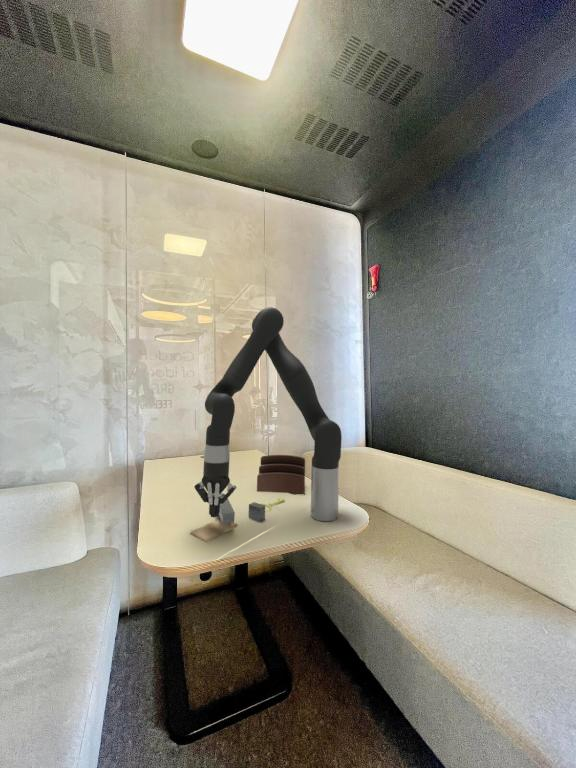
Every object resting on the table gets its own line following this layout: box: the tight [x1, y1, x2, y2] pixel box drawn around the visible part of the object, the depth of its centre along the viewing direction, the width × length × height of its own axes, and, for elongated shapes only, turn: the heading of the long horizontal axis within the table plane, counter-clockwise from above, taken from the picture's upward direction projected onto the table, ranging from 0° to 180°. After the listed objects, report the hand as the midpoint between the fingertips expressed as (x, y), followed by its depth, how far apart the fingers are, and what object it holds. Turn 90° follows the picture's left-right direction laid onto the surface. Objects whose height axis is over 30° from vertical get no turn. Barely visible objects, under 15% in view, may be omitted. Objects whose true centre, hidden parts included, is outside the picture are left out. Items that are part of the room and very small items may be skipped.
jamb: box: [248, 501, 266, 523], centre depth 100 cm, size 10×19×5 cm, turn 53°
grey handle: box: [217, 493, 236, 524], centre depth 96 cm, size 17×4×6 cm, turn 21°
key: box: [260, 497, 286, 513], centre depth 110 cm, size 7×12×2 cm, turn 149°
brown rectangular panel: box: [190, 518, 238, 543], centre depth 90 cm, size 12×7×1 cm, turn 143°
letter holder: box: [256, 454, 306, 495], centre depth 128 cm, size 10×20×14 cm, turn 87°
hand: (214, 516), depth 90 cm, fingers closed
